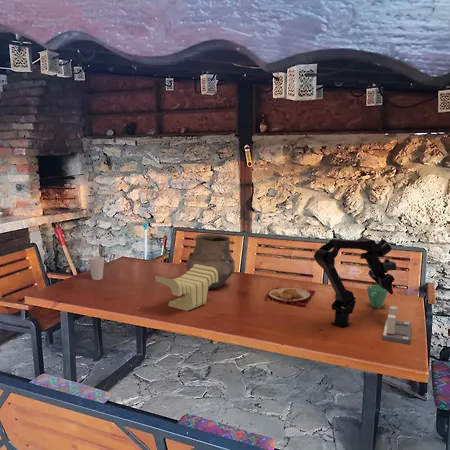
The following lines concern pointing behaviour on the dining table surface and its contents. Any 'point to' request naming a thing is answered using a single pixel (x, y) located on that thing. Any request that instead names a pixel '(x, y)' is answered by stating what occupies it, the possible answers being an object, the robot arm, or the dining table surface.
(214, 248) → the ceramic pot
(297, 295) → the plate with food
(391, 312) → the switch tab
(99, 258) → the foam cup
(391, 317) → the block
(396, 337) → the switch block
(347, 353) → the dining table surface
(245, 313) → the dining table surface
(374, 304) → the mug
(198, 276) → the slatted curved stool
